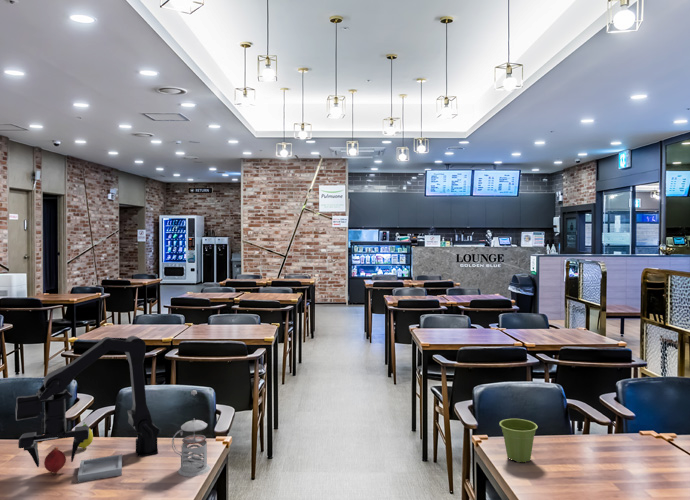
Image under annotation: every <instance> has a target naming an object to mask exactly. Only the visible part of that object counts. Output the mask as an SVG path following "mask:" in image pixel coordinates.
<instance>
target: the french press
mask: <svg viewBox="0 0 690 500" xmlns="http://www.w3.org/2000/svg"><path fill="white" fill-rule="evenodd" d="M197 394H198V392H197V390H196V389H193V390H192V389H191V391H190V395H197ZM207 427H208V423H206V422H205V421H203V420H200V419H192V420H189V421H186V422H185V423H183V424H182V425H180V430H177V431H176V432H175V434H173V437H172V439H171V448H172V450H173V451H174V453H175V454H177V455H178V456H179V457H180V468H178V471H177V473H178V474H179V475H180V476H184V477H198V476H201V475H203V474H206V473H208V472H209V471H210V470H211V466H210V465H209V464H208V441H207V440H206V439H207V437H206V436H205V435H203V434H196V433H195V432H199V431H203V430H205V429H206V428H207ZM183 431H184V432H193V434H191V435H187V436H185V437H183V438H182V443H181V446H180V447H181V449H180V450H181V451H180V450H178V449H177V448H176V446H175V438H176V436H177V435H178V434H180V436H183V435H184V432H183Z"/></svg>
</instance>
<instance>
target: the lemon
mask: <svg viewBox="0 0 690 500" xmlns="http://www.w3.org/2000/svg"><path fill="white" fill-rule="evenodd" d="M82 426H88V425H87V423H84V424H83V425H82ZM93 440H94V434H93V430H92V429H91V428H90V427H89V437H88V439H86V440H84V442H83V443H80V444H79V446H78V448H82V449H84V450H85V449H86V448H87V447H89V446H90V445H91V444H92V443H93Z"/></svg>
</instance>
